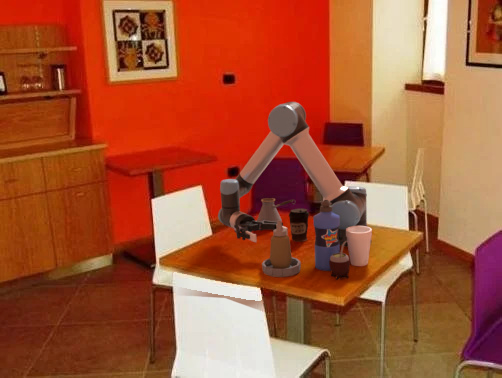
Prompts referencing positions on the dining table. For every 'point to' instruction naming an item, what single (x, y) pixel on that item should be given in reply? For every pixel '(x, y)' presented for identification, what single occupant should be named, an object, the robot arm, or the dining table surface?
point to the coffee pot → (270, 210)
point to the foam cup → (359, 244)
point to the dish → (284, 272)
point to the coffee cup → (299, 224)
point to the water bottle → (326, 236)
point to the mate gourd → (339, 264)
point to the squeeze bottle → (280, 248)
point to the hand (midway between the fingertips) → (271, 235)
